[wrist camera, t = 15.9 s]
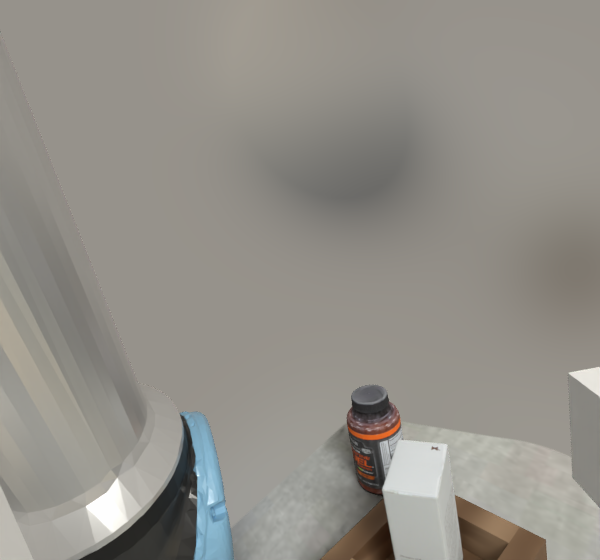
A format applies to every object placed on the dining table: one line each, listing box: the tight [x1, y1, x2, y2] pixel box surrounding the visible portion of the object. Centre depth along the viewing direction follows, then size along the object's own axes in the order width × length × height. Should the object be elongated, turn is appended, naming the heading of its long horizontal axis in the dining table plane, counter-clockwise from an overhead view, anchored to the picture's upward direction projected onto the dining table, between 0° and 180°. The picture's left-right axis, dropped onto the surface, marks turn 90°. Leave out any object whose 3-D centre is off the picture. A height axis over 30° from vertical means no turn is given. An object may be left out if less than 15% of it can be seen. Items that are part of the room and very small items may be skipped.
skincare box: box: [382, 440, 463, 560], centre depth 35 cm, size 6×4×12 cm
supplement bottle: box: [347, 385, 403, 494], centre depth 49 cm, size 6×6×11 cm
